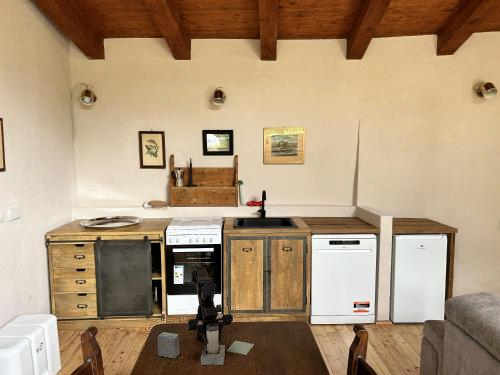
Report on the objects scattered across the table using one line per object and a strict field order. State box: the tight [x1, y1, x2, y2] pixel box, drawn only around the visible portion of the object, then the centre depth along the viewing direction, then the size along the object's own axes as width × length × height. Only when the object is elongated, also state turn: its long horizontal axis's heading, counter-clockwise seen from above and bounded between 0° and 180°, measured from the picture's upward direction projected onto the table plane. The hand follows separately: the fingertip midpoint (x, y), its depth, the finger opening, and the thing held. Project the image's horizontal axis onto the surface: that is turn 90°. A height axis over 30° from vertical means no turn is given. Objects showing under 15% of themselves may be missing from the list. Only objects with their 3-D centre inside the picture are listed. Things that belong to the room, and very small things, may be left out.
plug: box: [206, 323, 220, 354], centre depth 147 cm, size 5×5×13 cm
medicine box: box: [157, 331, 180, 359], centre depth 150 cm, size 8×4×9 cm, turn 71°
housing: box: [200, 344, 226, 366], centre depth 147 cm, size 9×9×4 cm
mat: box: [226, 340, 255, 356], centre depth 155 cm, size 9×9×1 cm
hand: (213, 342), depth 145 cm, fingers closed on plug, 5 cm apart
